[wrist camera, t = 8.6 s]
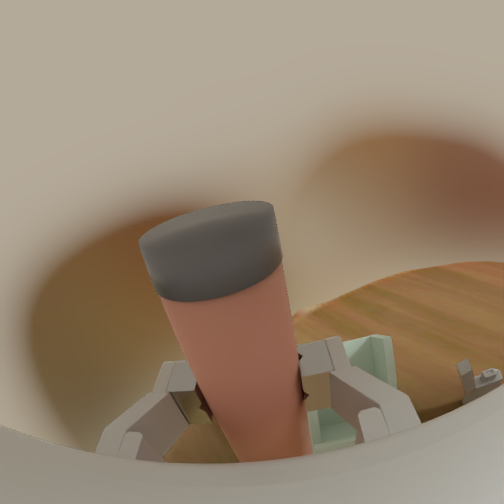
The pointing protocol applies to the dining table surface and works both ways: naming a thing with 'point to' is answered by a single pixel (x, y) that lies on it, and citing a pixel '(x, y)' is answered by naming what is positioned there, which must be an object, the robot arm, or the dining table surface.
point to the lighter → (477, 381)
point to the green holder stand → (371, 361)
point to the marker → (234, 323)
